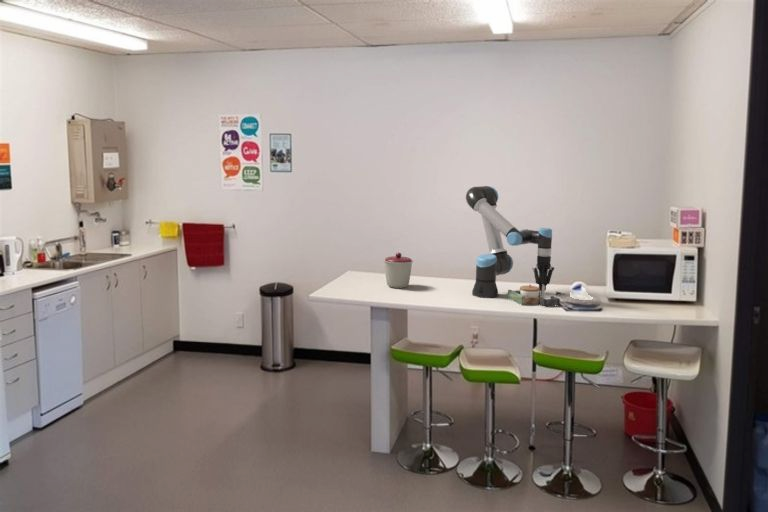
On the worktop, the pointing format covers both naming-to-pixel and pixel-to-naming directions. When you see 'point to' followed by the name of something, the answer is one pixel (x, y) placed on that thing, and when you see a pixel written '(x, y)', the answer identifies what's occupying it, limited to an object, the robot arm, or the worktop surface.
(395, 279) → the canister
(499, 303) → the worktop surface
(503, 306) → the worktop surface
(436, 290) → the worktop surface
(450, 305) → the worktop surface
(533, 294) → the lidded jar
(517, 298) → the trap box
